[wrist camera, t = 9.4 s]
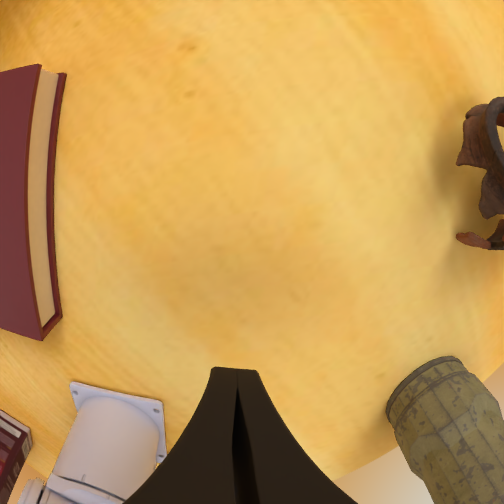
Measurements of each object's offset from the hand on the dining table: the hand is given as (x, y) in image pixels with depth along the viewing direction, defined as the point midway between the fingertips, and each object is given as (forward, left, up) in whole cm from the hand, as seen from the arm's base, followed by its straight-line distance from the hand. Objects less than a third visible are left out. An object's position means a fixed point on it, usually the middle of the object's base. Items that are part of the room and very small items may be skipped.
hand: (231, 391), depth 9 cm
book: (+3, +17, -9) cm, 20 cm away
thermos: (-10, -19, -10) cm, 24 cm away
